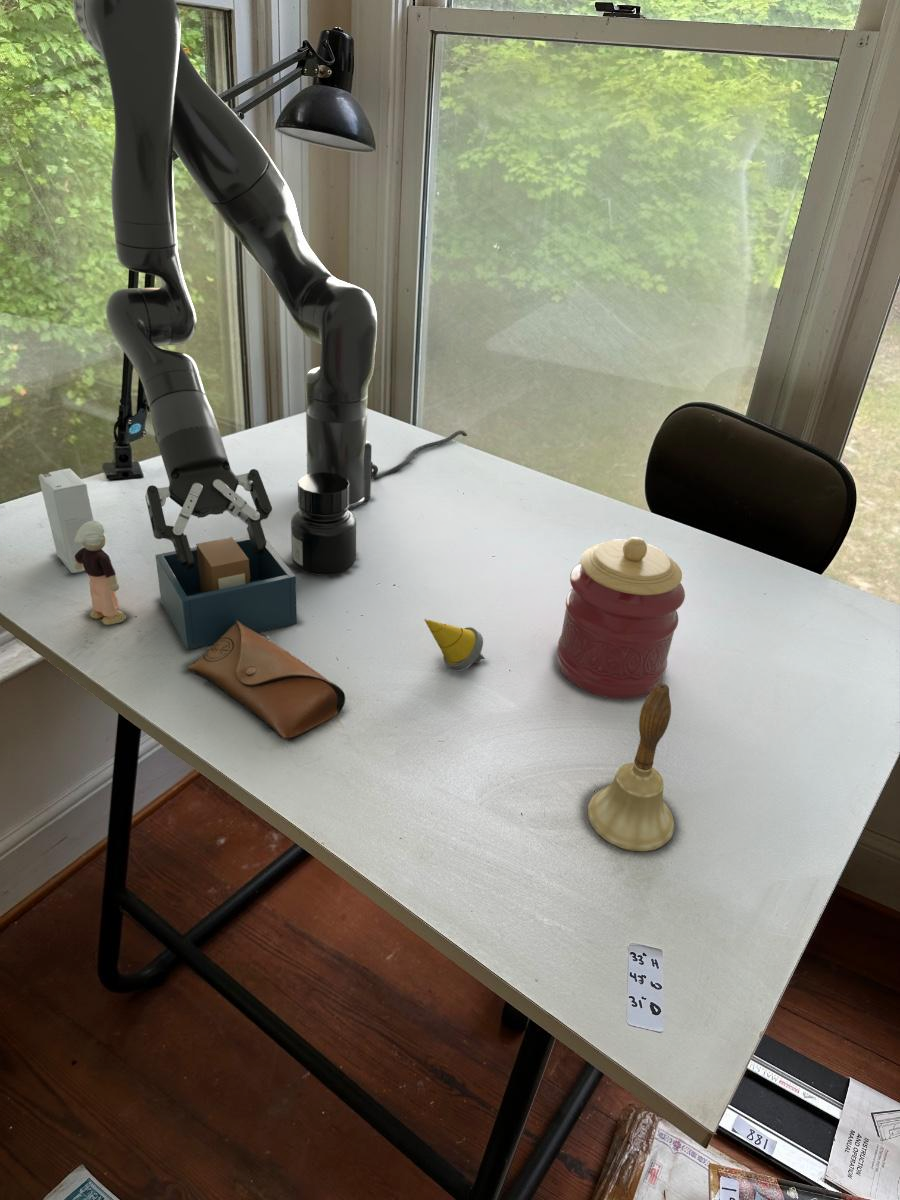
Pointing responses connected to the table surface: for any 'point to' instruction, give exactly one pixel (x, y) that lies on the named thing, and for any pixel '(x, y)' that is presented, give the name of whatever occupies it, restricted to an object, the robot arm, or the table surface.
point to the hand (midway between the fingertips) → (226, 559)
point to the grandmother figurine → (98, 572)
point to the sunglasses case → (270, 682)
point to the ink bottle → (323, 525)
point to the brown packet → (221, 565)
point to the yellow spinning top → (457, 644)
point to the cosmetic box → (66, 512)
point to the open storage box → (227, 597)
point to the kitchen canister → (620, 618)
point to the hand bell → (638, 788)
